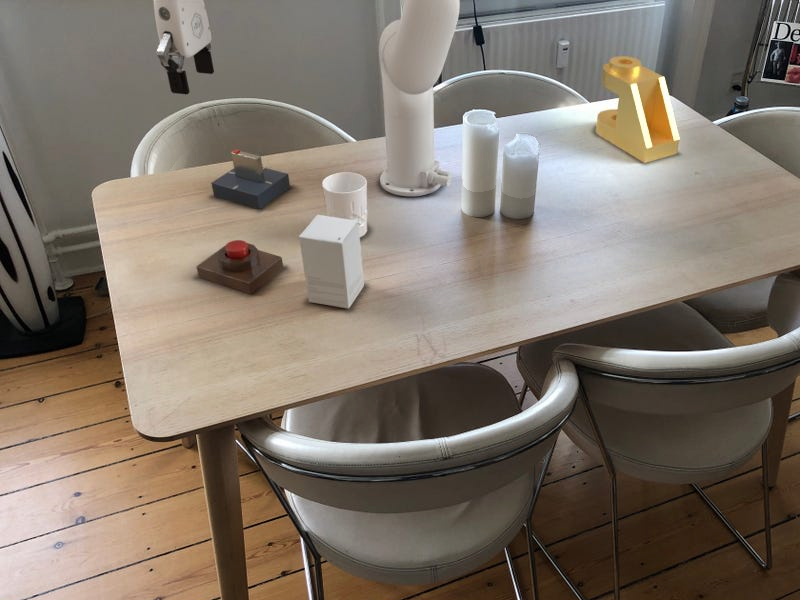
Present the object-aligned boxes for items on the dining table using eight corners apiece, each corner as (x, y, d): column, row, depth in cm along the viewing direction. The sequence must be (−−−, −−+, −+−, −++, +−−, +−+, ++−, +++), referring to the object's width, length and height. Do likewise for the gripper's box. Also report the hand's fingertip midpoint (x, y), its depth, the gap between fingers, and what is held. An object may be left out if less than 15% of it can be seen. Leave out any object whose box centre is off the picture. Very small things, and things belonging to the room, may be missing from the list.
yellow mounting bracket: (587, 128, 191) (595, 58, 181) (619, 120, 195) (628, 51, 184) (644, 163, 178) (656, 90, 168) (676, 153, 182) (690, 81, 171)
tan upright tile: (264, 179, 162) (260, 154, 159) (260, 182, 161) (256, 157, 158) (239, 173, 164) (235, 148, 161) (235, 176, 163) (230, 151, 160)
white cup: (349, 216, 158) (345, 167, 152) (379, 230, 154) (375, 181, 148) (318, 232, 153) (312, 183, 147) (348, 247, 150) (343, 197, 143)
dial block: (290, 187, 167) (288, 172, 165) (259, 209, 159) (256, 194, 157) (246, 175, 170) (243, 161, 168) (213, 196, 163) (210, 182, 161)
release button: (253, 251, 141) (251, 243, 140) (240, 262, 139) (238, 253, 138) (236, 246, 142) (234, 238, 141) (222, 256, 140) (220, 248, 139)
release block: (283, 267, 144) (280, 247, 142) (251, 294, 138) (247, 274, 135) (232, 251, 148) (228, 232, 145) (198, 277, 141) (194, 257, 139)
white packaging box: (365, 285, 140) (360, 219, 132) (348, 310, 135) (341, 243, 127) (325, 278, 142) (317, 212, 134) (306, 302, 136) (297, 236, 128)
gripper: (169, -3, 130) (191, 103, 140) (217, -32, 143) (233, 67, 154) (124, -7, 131) (149, 99, 141) (176, -35, 144) (195, 63, 155)
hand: (193, 82), depth 147 cm, fingers open, 9 cm apart
